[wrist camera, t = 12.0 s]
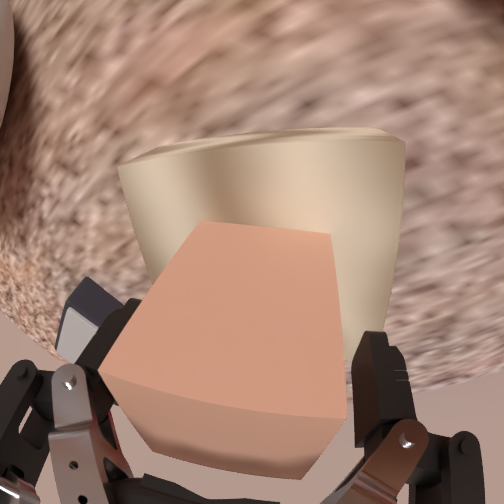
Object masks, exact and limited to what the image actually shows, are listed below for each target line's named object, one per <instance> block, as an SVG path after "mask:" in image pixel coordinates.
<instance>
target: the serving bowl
mask: <svg viewBox="0 0 504 504" xmlns="http://www.w3.org/2000/svg"><path fill="white" fill-rule="evenodd" d="M13 57H14V24H13V16H12V11H11V6H10V3H9V0H0V128H1V125H2V121H3V117H4V113H5V109H6V105H7V100H8V95H9V90H10V83H11V76H12V69H13Z"/></svg>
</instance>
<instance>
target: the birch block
mask: <svg viewBox="0 0 504 504" xmlns="http://www.w3.org/2000/svg"><path fill="white" fill-rule="evenodd" d="M117 169H118V173H119V177H120V181H121V185H122V188H123V192H124V196H125V200H126V203H127V207H128V210H129V214H130V217H131V221H132V224H133V227H134V230H135V234H136V237H137V240H138V243H139V246H140V249H141V252H142V255H143V258H144V261H145V264H146V267H147V270H148V273H149V276H150V279H151V281H152V284H154V283H155V281H156V280H157V279H158V277H159V276H160V274H161V273H162V271H163V270H164V269H165V267H166V266H167V264H168V263H169V262H170V260H171V259H172V257H173V256H174V255H175V253H176V252H177V251H178V249H179V248H180V246H181V245H182V244H183V242H184V241H185V240H186V238H187V237H188V236H189V234H190V233H191V232H192V230H193V229H194V228H195V226H196V225H197V224H198V222H199V221H200V220H201V221H212V222H223V223H233V224H244V225H254V226H264V227H274V228H283V229H292V230H301V231H310V232H319V233H328V234H331V241H332V248H333V255H334V262H335V269H336V277H337V285H338V294H339V303H340V312H341V323H342V334H343V346H344V361H353V357H354V355H355V352H356V350H357V348H358V345H359V343H360V340H361V338H362V336H363V333H364V332H365V331H381V332H383V328H384V323H385V319H386V314H387V310H388V305H389V300H390V295H391V290H392V284H393V278H394V272H395V266H396V260H397V253H398V245H399V238H400V229H401V219H402V209H403V196H404V179H405V142H404V141H402V140H400V139H398V138H396V137H394V136H392V135H390V134H388V133H386V132H384V131H382V130H380V129H378V128H310V129H291V130H276V131H264V132H253V133H244V134H235V135H227V136H219V137H212V138H205V139H198V140H192V141H186V142H180V143H175V144H169V145H164V146H160V147H158V148H155V149H153V150H151V151H149V152H147V153H144V154H142V155H140V156H138V157H136V158H134V159H132V160H130V161H128V162H126V163H124V164H122V165H120V166H118V167H117Z"/></svg>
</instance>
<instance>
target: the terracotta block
mask: <svg viewBox="0 0 504 504" xmlns="http://www.w3.org/2000/svg"><path fill="white" fill-rule="evenodd" d="M98 372H99V374H100V375H101V377H102V379H103V381H104V382H105V384H106V386H107V387H108V389H109V390H110V392H111V394H112V395H113V397H114V398H115V400H116V401H117V403H118V405H119V406H120V407H121V409H122V411H123V412H124V413H125V415H126V416H127V418H128V419H129V421H130V422H131V424H132V425H133V426H134V428H135V429H136V430H137V432H138V433H139V434H140V435H141V437H142V438H143V440H144V441H145V442H146V444H147V445H148V446H149V448H150V449H151V450H152V451H153V452H156V453H159V454H163V455H166V456H169V457H172V458H176V459H180V460H183V461H187V462H191V463H195V464H199V465H203V466H207V467H212V468H217V469H221V470H226V471H232V472H237V473H243V474H250V475H257V476H265V477H274V478H284V479H297V480H301V479H302V478H303V477H304V476H305V474H306V473H307V472H308V471H309V469H310V468H311V467H312V465H313V464H314V463H315V462H316V460H317V459H318V458H319V457H320V455H321V454H322V453H323V451H324V450H325V449H326V447H327V446H328V445H329V443H330V442H331V440H332V439H333V438H334V436H335V435H336V434H337V432H338V431H339V429H340V428H341V426H342V425H343V423H344V422H345V420H346V419H347V402H346V378H345V361H344V346H343V334H342V323H341V312H340V303H339V294H338V285H337V277H336V269H335V262H334V255H333V248H332V241H331V234H328V233H319V232H310V231H301V230H292V229H283V228H274V227H264V226H254V225H244V224H233V223H223V222H212V221H201V220H200V221H199V222H198V224H197V225H196V226H195V228H194V229H193V230H192V232H191V233H190V234H189V236H188V237H187V238H186V240H185V241H184V242H183V244H182V245H181V246H180V248H179V249H178V251H177V252H176V253H175V255H174V256H173V257H172V259H171V260H170V262H169V263H168V264H167V266H166V267H165V269H164V270H163V271H162V273H161V274H160V276H159V277H158V279H157V280H156V281H155V283H154V284H153V286H152V287H151V289H150V290H149V292H148V293H147V294H146V296H145V297H144V299H143V300H142V302H141V303H140V305H139V306H138V308H137V309H136V311H135V312H134V314H133V315H132V317H131V318H130V320H129V321H128V323H127V324H126V326H125V327H124V329H123V330H122V332H121V334H120V335H119V337H118V338H117V340H116V341H115V343H114V345H113V346H112V348H111V349H110V351H109V352H108V354H107V356H106V357H105V359H104V361H103V362H102V364H101V365H100V367H99V369H98Z"/></svg>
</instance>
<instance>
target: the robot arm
mask: <svg viewBox="0 0 504 504" xmlns="http://www.w3.org/2000/svg"><path fill="white" fill-rule="evenodd" d="M141 302H142V300H139V299H135V298H130V299H129V300H128V301H127V303H126V304H125V305H124V307H123V308H122V309H119V308H118V309H116V310H115V311H114V312H112V313H111V314H109V315H108V316H107V317H106V319H105V320H104V322H103V323H102V324H101V327H99V329H98V330H97V331H96V334H95V335H94V336H93V337H92V338H91V340H90V341H89V343H88V344H87V346H86V347H85V349H84V350H83V352H82V353H81V355H80V356H79V357H78V359H77V360H76V362H75V363H74V364H66V365H63V366H61V367H60V368H58V369H57V370H56V371H44V370H38V369H37V367H36V366H35V365H34V363H33V362H32V361H30V360H20V361H18V362H17V363H15V364H14V365H13V366H12V368H11V369H10V370H9V372H8V374H7V375H6V377H5V379H4V380H3V382H2V383H1V385H0V504H40V498H39V496H38V495H37V494H36V491H35V486H36V483H37V481H38V478H39V476H40V473H41V470H42V468H43V466H44V463H45V461H46V458H47V456H48V454H49V451H50V454H51V460H52V466H53V471H54V476H55V481H56V485H57V490H58V494H59V498H60V502H61V504H280V502H271V501H262V500H254V499H247V498H243V499H242V498H241V499H206V498H203V497H201V496H199V495H197V494H195V493H193V492H191V491H189V490H187V489H185V488H184V487H182V486H180V485H178V484H176V483H174V482H170V481H167V480H164V479H161V478H157V477H154V476H152V475H149V474H144V476H143V478H134V476H133V474H132V471H131V469H130V466H129V464H128V462H127V461H126V459H125V457H124V456H123V454H122V451H121V448H120V444H119V441H118V437H117V434H116V430H115V427H114V422H113V419H112V414H111V411H110V409H111V407H112V405H113V404H115V405H117V406H119V405H118V403H117V401H116V400H115V398H114V397H113V395H112V394H111V392H110V390H109V389H108V387H107V386H106V384H105V382H104V381H103V379H102V377H101V375H100V374H99V372H98V369H99V367H100V365H101V364H102V362H103V361H104V359H105V357H106V356H107V354H108V352H109V351H110V349H111V348H112V346H113V345H114V343H115V341H116V340H117V338H118V337H119V335H120V334H121V332H122V330H123V329H124V327H125V326H126V324H127V323H128V321H129V320H130V318H131V317H132V315H133V314H134V312H135V311H136V309H137V308H138V306H139V305H140V303H141ZM406 370H407V369H406V364H405V360H404V357H403V355H402V354H401V352H400V351H399V350H398V348H397V347H396V346H389V343H388V338H387V335H386V333H385V332H381V331H365V332H364V333H363V336H362V338H361V340H360V343H359V345H358V348H357V350H356V352H355V355H354V357H353V361H352V367H351V375H352V389H353V406H354V429H355V430H354V432H355V448H362V447H364V456H363V457H362V459H361V460H360V461H359V462H358V464H357V465H356V466H355V467H354V469H353V470H352V471H351V472H350V473H349V474H348V476H347V477H346V478H345V479H344V480H343V481H342V482H341V483H340V484H339V486H338V487H337V488H336V489H335V490H334V491H333V492H332V493H331V494H330V495H329V496H328V497H327V498H325V499H324V500H323V501H322V502H321V503H320V504H397V499H396V497H397V495H398V493H399V491H400V490H401V489H402V487H403V486H404V484H405V483H406V484H409V504H485V488H484V475H483V465H482V457H481V451H480V444H479V441H478V439H477V438H476V436H474V435H473V434H472V433H470V432H468V431H461V432H459V433H457V434H455V435H454V436H453V437H452V438H450V437H445V436H440V435H436V434H432V433H429V432H428V431H427V429H426V428H425V426H424V425H423V424H422V423H420V422H419V421H418V420H417V418H416V413H415V408H414V403H413V397H412V392H411V387H410V382H409V381H408V380H409V377H408V373H407V372H406ZM29 406H31V407H32V411H31V413H30V415H29V417H28V419H27V421H26V423H25V424H24V427H23V428H22V431H21V432H20V434H19V425H20V423H21V421H22V419H23V418H24V416H25V414H26V412H27V410H28V408H29Z"/></svg>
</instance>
